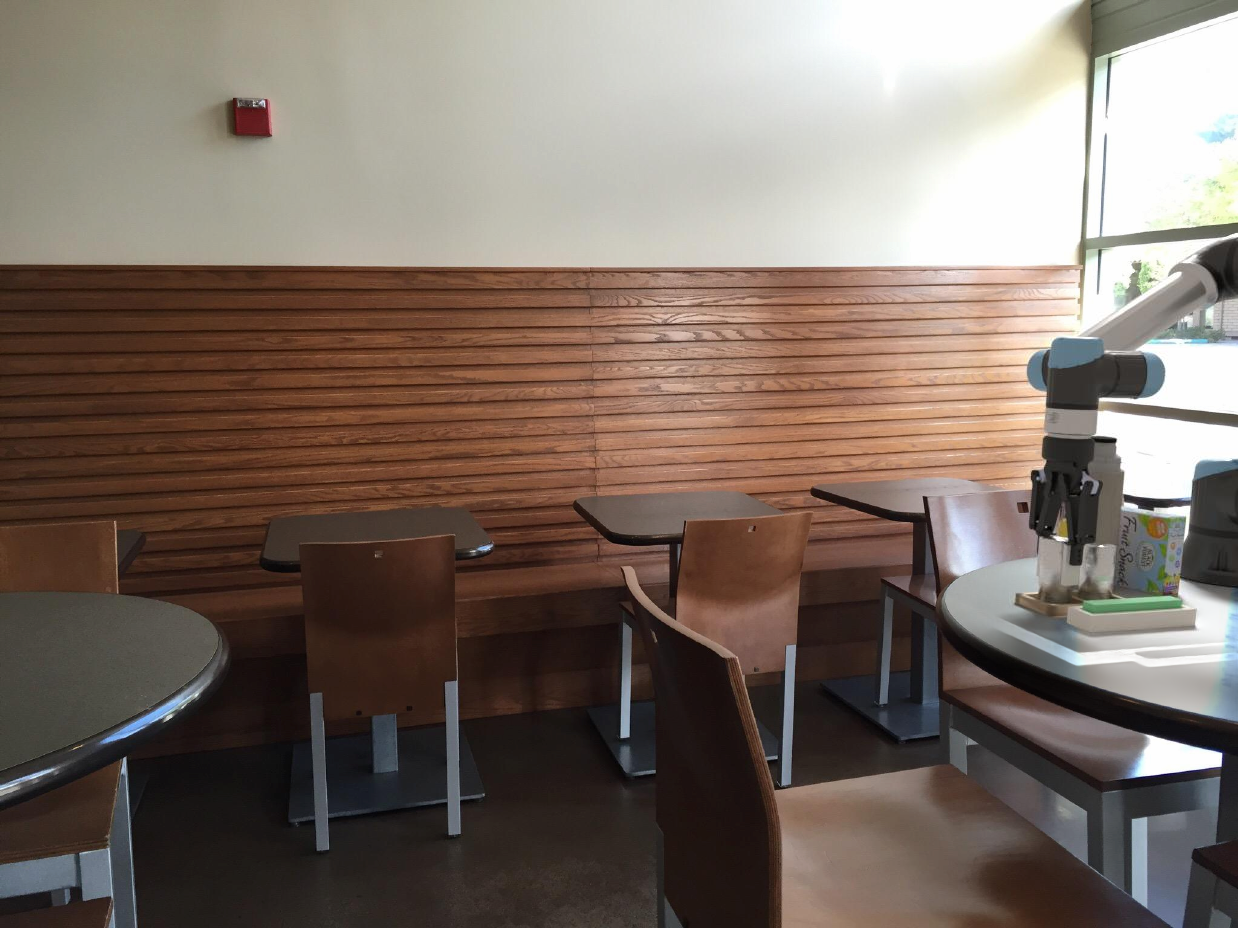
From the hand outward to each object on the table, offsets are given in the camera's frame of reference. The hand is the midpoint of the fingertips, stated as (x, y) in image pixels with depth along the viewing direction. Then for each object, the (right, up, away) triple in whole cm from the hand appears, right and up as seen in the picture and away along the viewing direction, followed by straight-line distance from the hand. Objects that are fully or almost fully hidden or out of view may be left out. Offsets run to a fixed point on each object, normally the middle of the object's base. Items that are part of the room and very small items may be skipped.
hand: (1056, 580), depth 155 cm
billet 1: (0, -3, 0) cm, 3 cm away
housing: (+8, -7, -7) cm, 13 cm away
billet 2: (+7, -4, +3) cm, 9 cm away
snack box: (+19, -4, +20) cm, 29 cm away
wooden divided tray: (+4, -6, +2) cm, 7 cm away
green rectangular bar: (+8, -6, -8) cm, 12 cm away
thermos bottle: (+13, -5, +16) cm, 20 cm away
